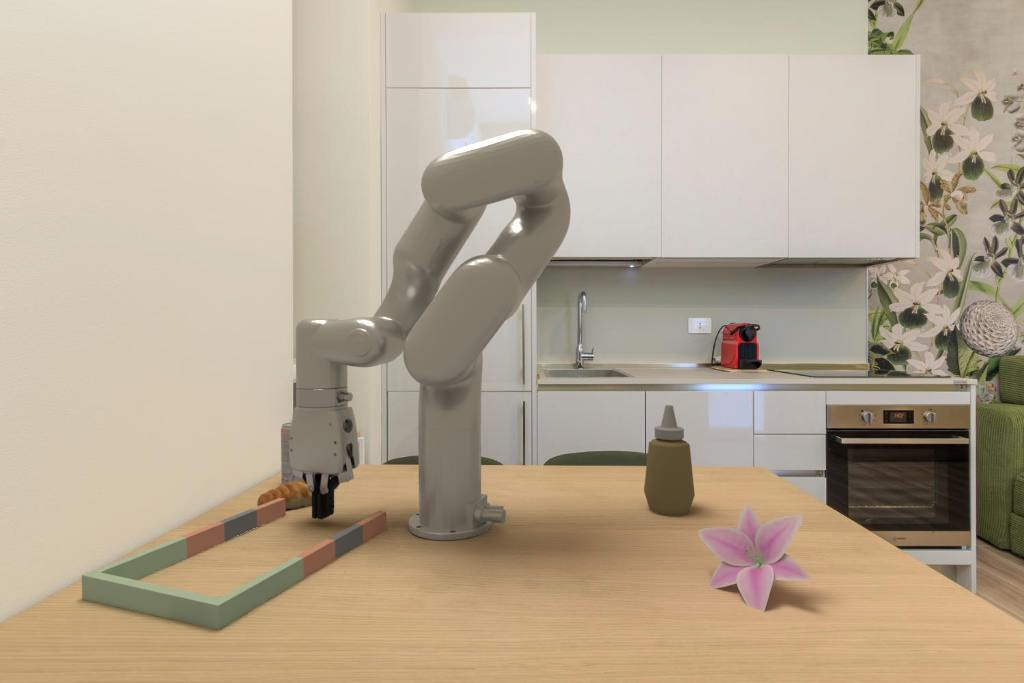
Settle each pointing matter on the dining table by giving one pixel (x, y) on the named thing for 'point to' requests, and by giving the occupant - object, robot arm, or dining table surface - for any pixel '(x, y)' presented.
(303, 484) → the pastry
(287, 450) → the energy drink
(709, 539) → the lily
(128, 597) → the striped u-shaped rail
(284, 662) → the dining table surface
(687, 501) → the squeeze bottle
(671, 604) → the dining table surface
